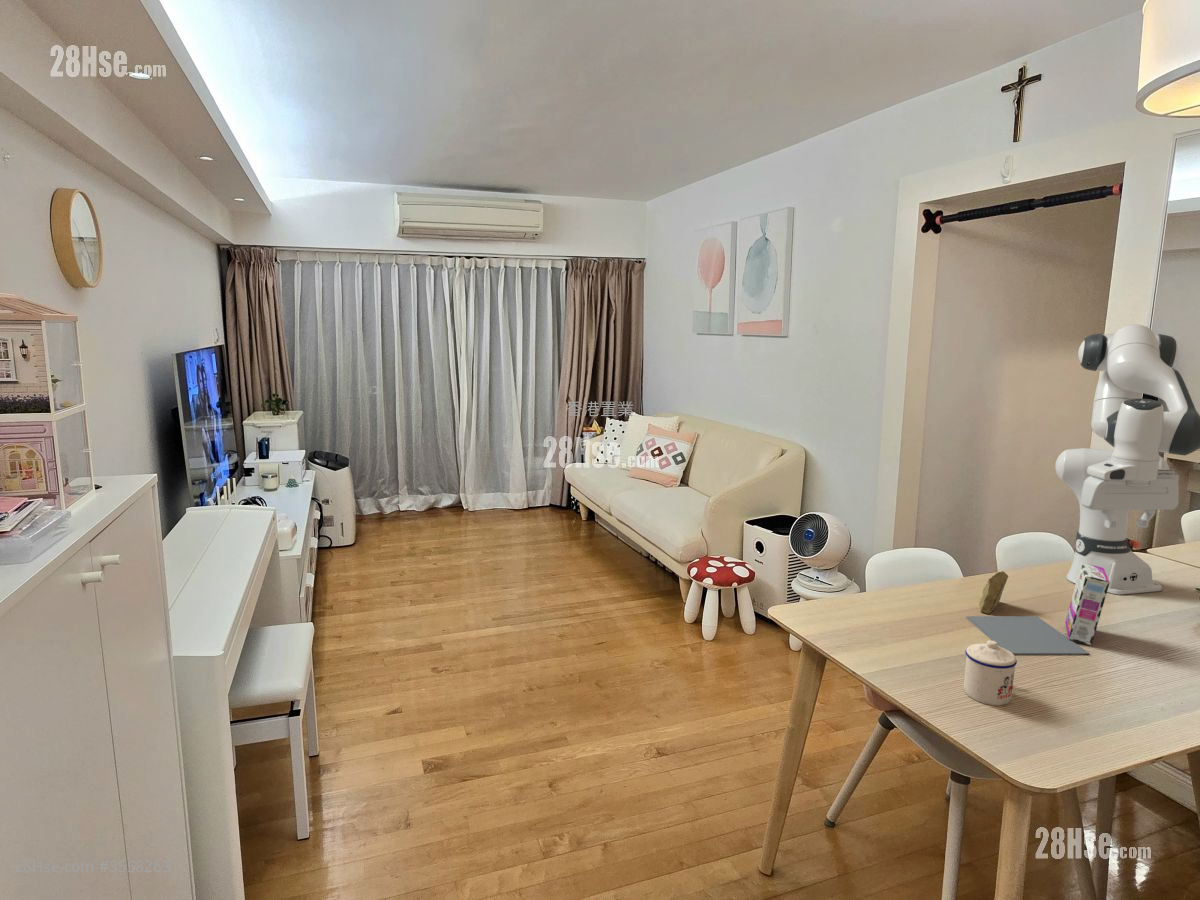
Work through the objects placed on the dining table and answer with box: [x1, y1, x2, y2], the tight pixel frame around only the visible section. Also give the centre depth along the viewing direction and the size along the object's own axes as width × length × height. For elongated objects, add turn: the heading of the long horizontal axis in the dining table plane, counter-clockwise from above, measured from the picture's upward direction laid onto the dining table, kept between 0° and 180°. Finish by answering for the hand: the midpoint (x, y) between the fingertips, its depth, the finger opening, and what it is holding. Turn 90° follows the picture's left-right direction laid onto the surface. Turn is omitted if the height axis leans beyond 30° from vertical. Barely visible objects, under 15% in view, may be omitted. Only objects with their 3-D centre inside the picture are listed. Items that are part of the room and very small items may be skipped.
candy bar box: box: [1064, 563, 1110, 646], centre depth 165 cm, size 11×5×16 cm, turn 150°
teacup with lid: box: [963, 639, 1018, 706], centre depth 141 cm, size 12×9×12 cm
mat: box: [965, 615, 1090, 656], centre depth 167 cm, size 18×20×1 cm
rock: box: [978, 571, 1009, 615], centre depth 184 cm, size 11×9×10 cm
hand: (1125, 527), depth 162 cm, fingers open, 6 cm apart
